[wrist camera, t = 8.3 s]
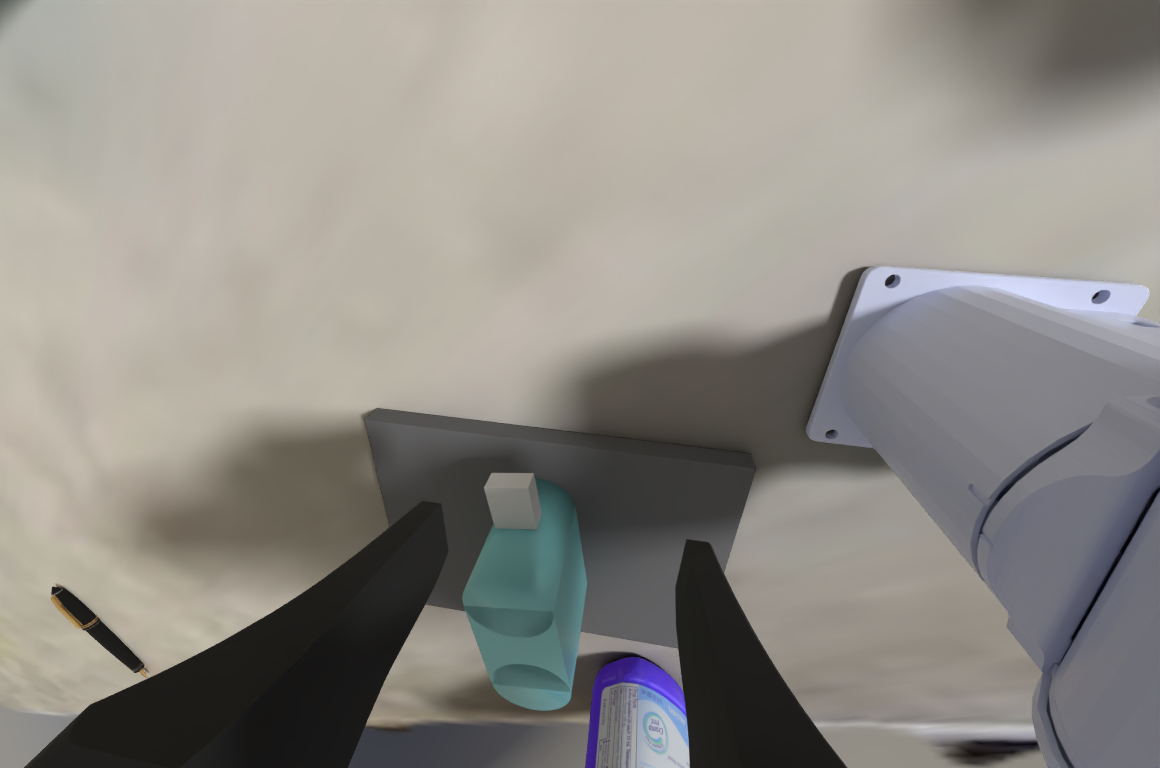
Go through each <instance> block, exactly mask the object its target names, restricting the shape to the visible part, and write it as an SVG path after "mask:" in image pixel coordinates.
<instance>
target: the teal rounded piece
mask: <svg viewBox="0 0 1160 768" xmlns="http://www.w3.org/2000/svg"><path fill="white" fill-rule="evenodd" d="M484 490H485V494H486V497H487V501H488V504H489V508H490V512H491V515H492V519H493V526H492V528H491V530H490V532H489V535H488V537H487V539H486V542H485V544H484V546H483V548H482V551H481V553H480V555H479V557H478V560H477V562H476V564H475V567H474V569H473V571H472V573H471V576H470V578H469V580H468V583H467V585H466V587H465V589H464V592H463V596H462V600H463V605H464V608H465V611H466V613H467V616H468V619H469V622H470V624H471V627H472V630H473V633H474V636H475V638H476V641H477V644H478V647H479V649H480V652H481V655H482V658H483V660H484V663H485V666H486V669H487V671H488V674H489V677H490V680H491V682H492V685H493V687H494V689H495V690H496V691H497V692H498V693H499V694H500V695H501V696H502V697H503V698H505V699H506V700H508V701H510V702H511V703H513V704H516V705H518V706H521V707H524V708H528V709H532V710H541V711H548V710H556V709H559V708H562V707H564V706H565V705H566V704H568V702H569V701H570V699H571V693H572V686H573V679H574V672H575V666H576V659H577V652H578V645H579V638H580V631H581V625H582V618H583V611H584V604H585V597H586V591H587V579H586V572H585V566H584V559H583V552H582V546H581V539H580V533H579V526H578V520H577V513H576V507H575V503H574V501H573V499H572V497H571V496H570V495H569V493H568V492H567V491H566V490H564V489H563V488H562V487H560V486H559V485H557V484H555V483H553V482H550V481H547V480H543V479H535V477H534V473H491V475H490V477H489V479H488V481H487V483H486V485H485V487H484Z"/></svg>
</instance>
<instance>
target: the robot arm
mask: <svg viewBox="0 0 1160 768" xmlns="http://www.w3.org/2000/svg"><path fill="white" fill-rule="evenodd" d="M891 275H895V280H894V281H893V283H892V284H890V285H888V286H885V280H886V279H887V277H889V276H891ZM1099 291H1100V292H1099ZM1097 292H1099V295H1098V296H1097V297H1096V298H1095V299H1093V300H1092V297H1093V295H1094V294H1095V293H1097ZM1148 297H1149V289H1148V288H1147V287H1145V286H1142V285H1138V284H1133V283H1123V282H1109V281H1095V280H1081V279H1067V278H1053V277H1039V276H1025V275H1011V274H996V273H982V272H968V271H954V270H940V269H926V268H912V267H898V266H884V265H876V266H872V267H870V268H868V269H867V270H865V271H864V272H863V274H862V275H861V277H860V280H859V283H858V285H857V288H856V291H855V294H854V297H853V299H852V302H851V305H850V308H849V310H848V313H847V316H846V319H845V321H844V324H843V327H842V330H841V333H840V335H839V338H838V341H837V344H836V346H835V349H834V352H833V355H832V358H831V360H830V363H829V366H828V369H827V371H826V374H825V377H824V380H823V382H822V385H821V388H820V391H819V394H818V396H817V399H816V402H815V405H814V407H813V410H812V413H811V416H810V419H809V421H808V424H807V427H806V433H807V435H808V437H809V438H810V439H811V440H813V441H816V442H825V443H833V444H842V445H851V446H859V447H868V448H875V450H876V451H877V452H878V453H879V455H880V456H881V457H882V458H883V459H884V461H885V462H886V463H887V464H888V466H889V467H890V468H891V469H892V470H893V472H894V473H895V474H896V475H897V477H898V478H899V479H900V480H901V481H902V483H903V484H904V485H905V486H906V487H907V489H908V490H909V491H910V492H911V494H912V495H913V496H914V497H915V498H916V500H917V501H918V502H919V503H920V505H921V506H922V507H923V508H924V509H925V511H926V512H927V513H928V514H929V516H930V517H931V518H932V519H933V520H934V522H935V523H936V524H937V525H938V527H939V528H940V529H941V530H942V531H943V533H944V534H945V535H946V536H947V538H948V539H949V540H950V541H951V542H952V544H953V545H954V546H955V547H956V548H957V550H958V551H959V552H960V553H961V555H962V556H963V557H964V558H965V559H966V561H967V562H968V563H969V564H970V566H971V567H972V568H973V569H974V570H975V572H976V573H977V574H978V575H979V577H980V578H981V579H982V580H983V581H984V582H985V583H986V584H987V586H988V588H989V589H990V590H991V591H992V593H993V594H994V595H995V596H996V598H997V599H998V600H999V601H1000V602H1001V604H1002V605H1003V606H1004V607H1005V608H1006V610H1007V611H1008V615H1009V618H1008V622H1007V628H1008V629H1009V631H1010V632H1011V633H1012V634H1013V636H1014V637H1015V638H1016V639H1017V641H1018V642H1019V643H1020V644H1021V646H1022V647H1023V648H1024V649H1025V651H1026V652H1027V653H1028V655H1029V656H1030V657H1031V658H1032V660H1033V661H1034V662H1035V663H1036V665H1037V666H1038V667H1039V668H1040V670H1041V671H1042V672H1043V674H1042V676H1041V678H1040V679H1039V681H1038V683H1037V686H1036V689H1035V692H1034V695H1033V699H1032V719H1033V724H1034V729H1035V734H1036V738H1037V742H1038V744H1039V747H1040V749H1041V752H1042V754H1043V757H1044V759H1045V761H1046V764H1047V766H1048V768H1160V323H1158V322H1155V321H1152V320H1148V319H1145V318H1141V317H1138V316H1136V315H1137V314H1138V312H1139V311H1140V310H1141V308H1142V307H1143V305H1144V304H1145V302H1146V301H1147V299H1148ZM829 430H834V432H833V433H831V434H826V432H827V431H829ZM448 552H449V550H448V543H447V537H446V530H445V524H444V517H443V510H442V504H441V503H434V502H427V501H421V502H420V503H419V504H417V505H416V506H415V507H414V508H413V509H411V510H410V511H409V512H408V513H406V514H405V515H404V516H403V517H402V518H400V519H399V520H398V521H397V522H396V523H394V524H393V525H392V526H391V527H390V528H388V529H387V530H386V531H385V532H383V533H382V534H381V535H380V536H379V537H377V538H376V539H375V540H373V541H372V542H371V543H370V544H368V545H367V546H366V547H365V548H363V549H362V550H361V551H360V552H358V553H357V554H356V555H355V556H353V557H352V558H351V559H349V560H348V561H347V562H345V563H344V564H343V565H341V566H340V567H339V568H337V569H336V570H334V571H333V572H332V573H330V574H329V575H328V576H326V577H325V578H324V579H322V580H321V581H319V582H318V583H317V584H315V585H314V586H312V587H311V588H309V589H308V590H306V591H305V592H303V593H302V594H300V595H299V596H297V597H296V598H294V599H293V600H291V601H290V602H288V603H286V604H285V605H283V606H282V607H280V608H279V609H277V610H275V611H274V612H272V613H271V614H269V615H267V616H265V617H264V618H262V619H260V620H258V621H257V622H255V623H253V624H252V625H250V626H248V627H246V628H245V629H243V630H241V631H239V632H238V633H236V634H234V635H233V636H231V637H229V638H227V639H225V640H224V641H222V642H220V643H218V644H216V645H214V646H212V647H210V648H209V649H207V650H205V651H203V652H201V653H199V654H197V655H195V656H193V657H191V658H189V659H187V660H185V661H183V662H181V663H179V664H177V665H175V666H173V667H171V668H169V669H167V670H165V671H163V672H161V673H159V674H157V675H155V676H153V677H150V678H148V679H146V680H144V681H142V682H139V683H137V684H135V685H133V686H131V687H129V688H126V689H124V690H122V691H120V692H118V693H115V694H113V695H111V696H109V697H107V698H105V699H102V700H100V701H98V702H95V703H93V704H91V705H89V706H88V707H87V708H86V709H85V710H84V711H83V712H82V713H81V714H80V715H79V716H78V717H77V718H75V719H74V720H73V721H72V722H71V723H70V724H69V725H68V726H67V727H66V728H65V729H64V730H63V731H62V732H61V733H60V734H59V735H58V736H57V737H56V738H55V739H54V740H52V741H51V742H50V743H49V744H48V745H47V746H46V747H45V748H44V749H43V750H42V751H41V752H40V753H39V754H38V755H37V756H36V757H35V758H34V759H33V760H31V761H30V762H29V763H28V764H27V765H26V766H25V767H24V768H348V766H349V763H350V761H351V759H352V756H353V754H354V751H355V749H356V747H357V744H358V741H359V739H360V737H361V734H362V732H363V730H364V727H365V725H366V722H367V720H368V718H369V715H370V713H371V711H372V709H373V706H374V704H375V702H376V699H377V697H378V695H379V693H380V690H381V688H382V686H383V683H384V681H385V679H386V677H387V675H388V673H389V671H390V669H391V667H392V665H393V663H394V661H395V659H396V657H397V656H398V654H399V652H400V650H401V648H402V646H403V644H404V643H405V641H406V639H407V637H408V635H409V633H410V632H411V630H412V628H413V626H414V624H415V622H416V620H417V619H418V617H419V615H420V613H421V611H422V609H423V607H424V606H425V604H426V602H427V600H428V598H429V596H430V594H431V592H432V591H433V589H434V587H435V585H436V582H437V580H438V577H439V575H440V573H441V570H442V568H443V565H444V562H445V560H446V557H447V555H448ZM675 607H676V631H677V640H678V649H679V657H680V666H681V674H682V683H683V691H684V700H685V708H686V716H687V727H688V739H689V763H690V768H847V767H846V766H845V764H844V763H843V762H842V760H841V759H840V758H839V756H838V755H837V754H836V753H835V751H834V750H833V749H832V747H831V746H830V745H829V744H828V742H827V741H826V740H825V738H824V737H823V736H822V734H821V733H820V732H819V730H818V729H817V727H816V726H815V725H814V723H813V722H812V720H811V719H810V718H809V716H808V715H807V713H806V712H805V711H804V709H803V708H802V706H801V705H800V704H799V702H798V701H797V699H796V698H795V696H794V695H793V693H792V692H791V690H790V689H789V687H788V686H787V684H786V683H785V681H784V680H783V678H782V677H781V675H780V674H779V672H778V670H777V669H776V667H775V666H774V664H773V662H772V661H771V659H770V658H769V656H768V654H767V653H766V651H765V649H764V648H763V646H762V644H761V643H760V641H759V639H758V637H757V636H756V634H755V632H754V630H753V629H752V627H751V625H750V623H749V621H748V620H747V618H746V616H745V614H744V612H743V610H742V608H741V607H740V605H739V603H738V601H737V599H736V597H735V595H734V593H733V591H732V589H731V587H730V585H729V583H728V581H727V579H726V577H725V575H724V573H723V570H722V568H721V566H720V564H719V562H718V559H717V557H716V555H715V552H714V550H713V547H712V545H711V544H710V543H709V542H704V541H697V540H690V539H686V543H685V547H684V551H683V556H682V560H681V564H680V569H679V573H678V577H677V582H676V586H675Z"/></svg>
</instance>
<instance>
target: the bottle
mask: <svg viewBox="0 0 1160 768" xmlns="http://www.w3.org/2000/svg"><path fill="white" fill-rule="evenodd" d="M585 768H690V763H689V739H688V727H687V716H686V708H685V700H684V694H683V692H682V690H681V688H680V686H679V685H678V684H677V682H676V681H675V680H674V679H673V678H672V677H671V676H670V675H669V674H667V673H666V672H665V671H664V670H662V669H661V668H659V667H658V666H656V665H655V664H653V663H651V662H649V661H647V660H645V659H642V658H639V657H628V658H623V659H620V660H617V661H615V662H611V663H609V664H607V665H605V666H604V667H602V669H601V670H600V671H599V672H598V674H597V677H596V679H595V682H594V685H593V690H592V701H591V712H590V723H589V733H588V744H587V754H586V765H585Z"/></svg>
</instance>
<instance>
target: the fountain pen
mask: <svg viewBox="0 0 1160 768" xmlns="http://www.w3.org/2000/svg"><path fill="white" fill-rule="evenodd" d="M51 595H52V597H51V600H52V602H53V603H54V605H55V606H56V608H57V609H58V610H59V611H60V612H61V613H62V614H63V615H64V616H65V617H66V618H67V619H68V620H69V621H70V622H71V623H72V624H73V625H74V626H75V627H76V628H81V629H83V630H86V631H87V632H88V633H89V634H90V635H91V636H92V637H93V638H94V639H95V640H97V641H98V642H99V643H100V644H101V645H102V646H103V647H104V648H105V649H107V650H108V651H109V652H110V653H111V654H113V655H114V656H115V657H116V658H117V659H119V660H120V661H121V662H122V663H123V664H125V665H126V666H127V667H128V668H130V669H131V670H132V671H133V672H134V673H137V672H140V673H141V674H142V675H143V676H145V677H146V678H147V676H146V673H145V672H144V671H143V670H142V668H143V667H144V665H143V664H142V663H141V662H140V661H139V660H138V659H137V658H136V657H135V656H134V654H133V653H132V652H131V651H130V650H129V649H128V648H127V647H126V646H125V645H124V644H123V643H122V642H121V641H120V640H119V638H118V637H117V636H116V635H115V634H114V633H113V632H112V631H110V630H109V629H108V628H107V627H106V626H105V625H104V624H103V623H102V622H101V621H100V619H99V618H98V617H97V616H96V615H95V614H94V613H93V612H92V611H91V610H90V609H89V608H88V607H87V606H85V605H84V604H83V603H82V602H81V601H80V600H79V599H77V598H76V597H75V596H74V595H72V594H71V593H70V592H68V591H66V590H65V589H63V588H59V587H52V593H51Z"/></svg>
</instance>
